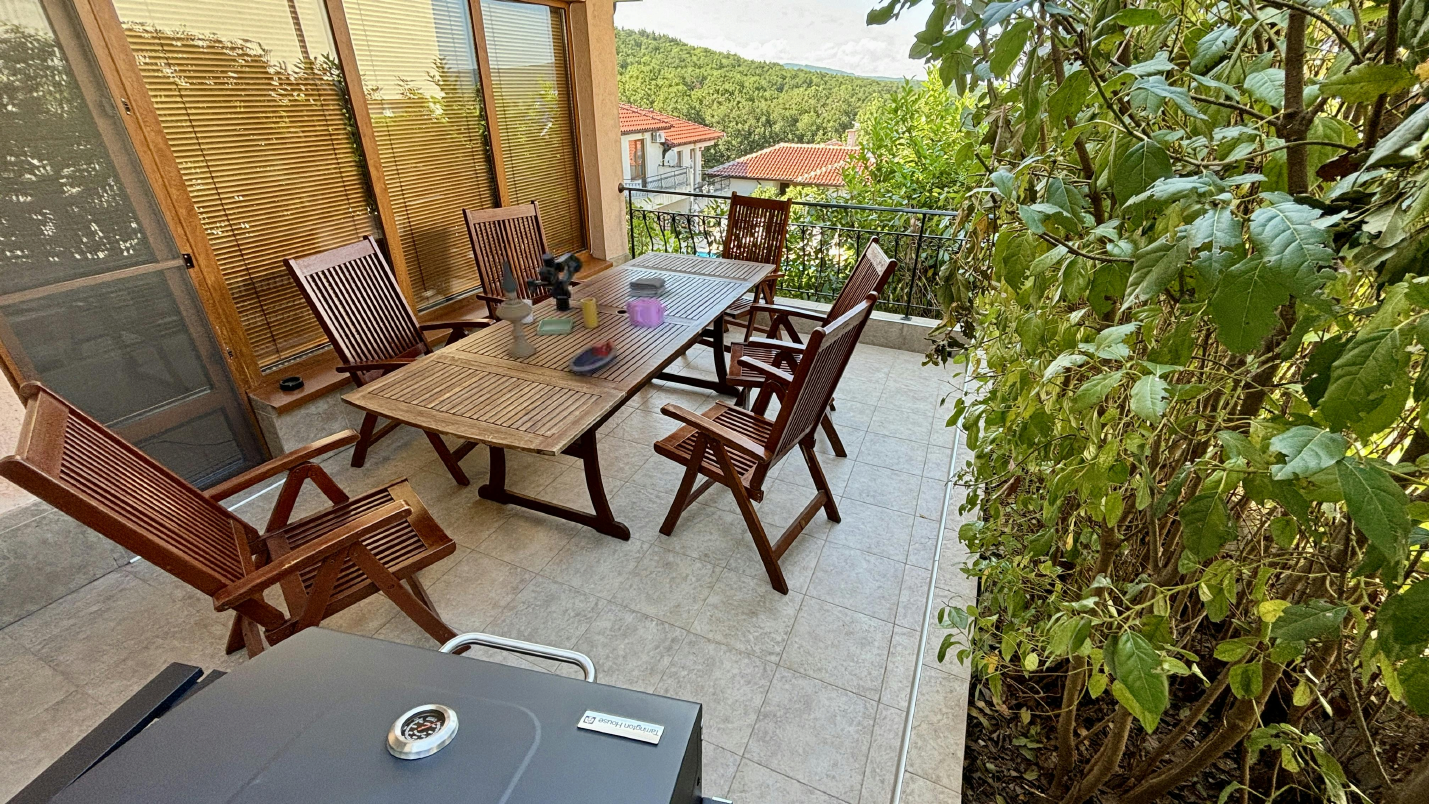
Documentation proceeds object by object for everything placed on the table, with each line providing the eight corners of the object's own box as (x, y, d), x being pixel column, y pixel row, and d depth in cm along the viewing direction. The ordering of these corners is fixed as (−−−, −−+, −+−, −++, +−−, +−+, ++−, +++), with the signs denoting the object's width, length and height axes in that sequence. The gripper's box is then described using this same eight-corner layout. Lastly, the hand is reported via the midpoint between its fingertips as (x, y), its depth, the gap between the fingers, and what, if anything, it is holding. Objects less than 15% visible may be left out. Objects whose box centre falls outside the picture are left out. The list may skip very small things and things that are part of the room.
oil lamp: (496, 356, 258) (477, 265, 240) (518, 344, 271) (501, 256, 252) (526, 360, 254) (508, 267, 235) (546, 348, 266) (531, 258, 248)
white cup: (537, 318, 302) (534, 299, 298) (531, 324, 295) (528, 304, 291) (522, 318, 303) (518, 299, 298) (516, 323, 296) (512, 304, 291)
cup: (591, 322, 295) (588, 297, 289) (601, 324, 292) (598, 299, 286) (581, 326, 290) (578, 300, 284) (591, 328, 287) (588, 302, 281)
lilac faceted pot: (625, 320, 297) (623, 295, 292) (657, 314, 303) (656, 291, 298) (635, 330, 283) (633, 305, 278) (669, 325, 289) (667, 300, 284)
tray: (542, 324, 295) (541, 319, 293) (573, 322, 296) (572, 317, 295) (537, 335, 281) (536, 330, 280) (569, 333, 282) (569, 328, 281)
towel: (659, 297, 329) (658, 283, 326) (627, 296, 333) (626, 282, 329) (666, 289, 342) (666, 276, 339) (636, 288, 346) (635, 275, 342)
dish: (559, 376, 239) (557, 364, 237) (598, 348, 265) (596, 337, 262) (593, 380, 234) (591, 369, 232) (629, 352, 260) (628, 341, 257)
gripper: (528, 262, 292) (517, 280, 281) (564, 263, 290) (555, 280, 279) (534, 282, 300) (523, 300, 289) (570, 282, 297) (560, 300, 286)
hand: (540, 294), depth 285 cm, fingers open, 9 cm apart
